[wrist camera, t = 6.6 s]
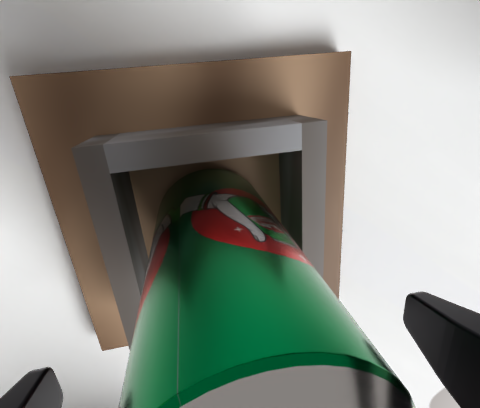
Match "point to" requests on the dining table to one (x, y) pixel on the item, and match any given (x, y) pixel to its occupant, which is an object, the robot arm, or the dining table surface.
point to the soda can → (243, 314)
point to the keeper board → (185, 159)
